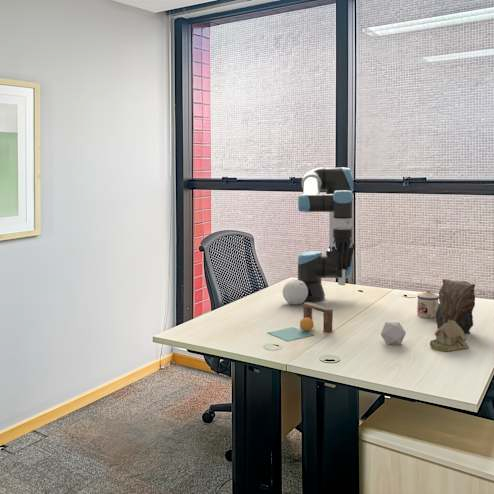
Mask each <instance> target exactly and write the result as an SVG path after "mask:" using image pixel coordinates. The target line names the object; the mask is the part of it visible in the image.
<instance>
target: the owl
mask: <svg viewBox="0 0 494 494" xmlns="http://www.w3.org/2000/svg"><path fill="white" fill-rule="evenodd" d="M475 286H476V284H475V283H470V282H468V281H466V280H461V281H459V280H451V279H447V278H442V285H441V288H440V289H439V293H438V296H439V300H438V303H439V306H438V308H437V311H436V317H435V320H436V326H437V328H436V329H437V330H438V329H439V328H440V327H441V326H443V325H444V324H445V323H448V321H449V320H452V321H456V323H457V324H458V325H459V327H461V328H462V330H463V331H464V334H465V335H468V334H471V332H470V330H471V328H472V327H473V326H474V321H473V319H474V318H473V317H474V315H473V310H474V308H475V306H476V294H475Z"/></svg>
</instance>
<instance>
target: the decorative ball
mask: <svg viewBox="0 0 494 494" xmlns="http://www.w3.org/2000/svg"><path fill="white" fill-rule="evenodd" d="M307 295H308V288H307V286H306V284H305V283H304V282H303V281H300V280H298V279H291V280H289V281H286V283H285V284H284V286H283V288H282V296H283V299H284V300H285V301H286V302H287V303H288V304H290V305H293V306H296V305H301V304H302V303H305V300H306V298H307Z"/></svg>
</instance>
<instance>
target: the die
mask: <svg viewBox="0 0 494 494" xmlns="http://www.w3.org/2000/svg"><path fill="white" fill-rule="evenodd" d="M406 333H407V332H406V330H405V329H404V327H403V326H402V324H401V323H400V322H399V321H397V322H396V321H395V322H394V321H392V322H390V321H389V322H388V321H387V322H384V325H383V328H382V329H381V332H380V336H381V337H382V338H383V340H384V342H385V344H386V345H389V346H390V345H391V346H393V345H394V346H395V345H397V346H399V345H400V346H401V345H402V344H403V340H404V339H405V337H406Z"/></svg>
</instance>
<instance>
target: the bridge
mask: <svg viewBox="0 0 494 494" xmlns="http://www.w3.org/2000/svg"><path fill="white" fill-rule="evenodd" d="M302 303H303V315H302V316H303V318H306V317H307V318H310V319H312V320H313V310H315V311H318V312H320V313H323V324H322V325H323V326H322V327H323V329H322V331H323V333H326V334H328V333H332V332H333V316H334V314H333V311H334V310H333V308H329V307H326V306H323V305H320V304H317V303H314V302H302ZM303 318H302V319H303Z"/></svg>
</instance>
